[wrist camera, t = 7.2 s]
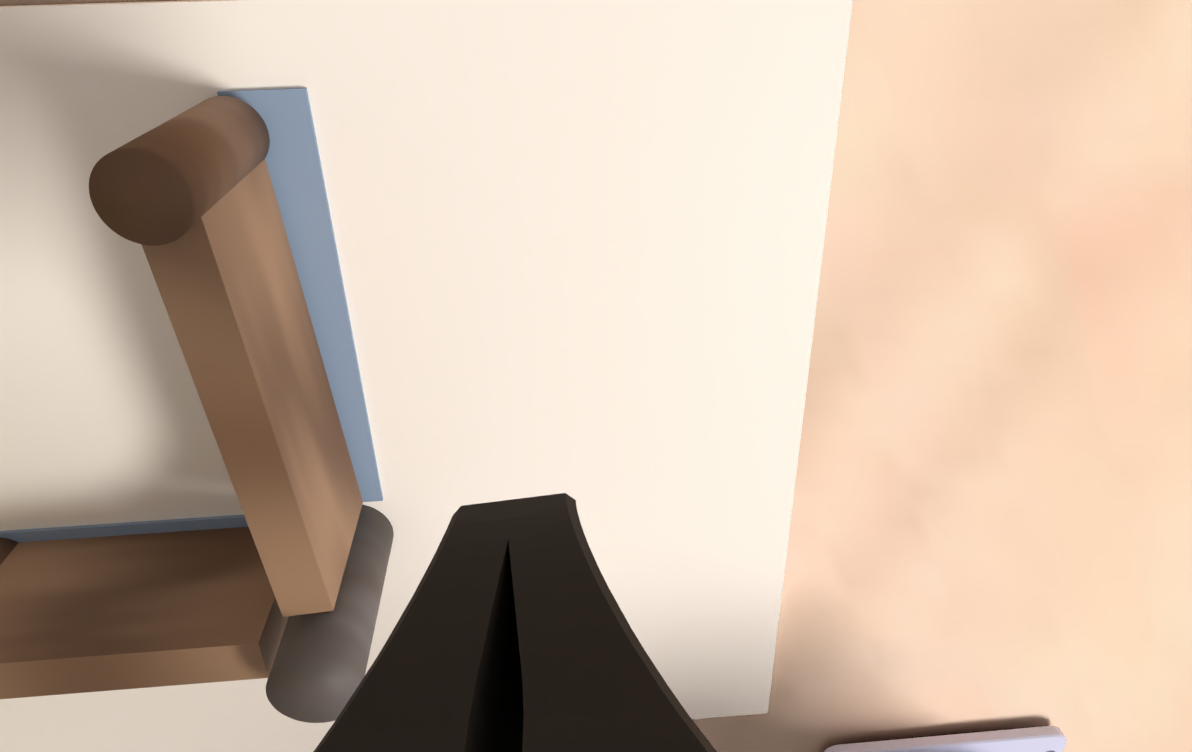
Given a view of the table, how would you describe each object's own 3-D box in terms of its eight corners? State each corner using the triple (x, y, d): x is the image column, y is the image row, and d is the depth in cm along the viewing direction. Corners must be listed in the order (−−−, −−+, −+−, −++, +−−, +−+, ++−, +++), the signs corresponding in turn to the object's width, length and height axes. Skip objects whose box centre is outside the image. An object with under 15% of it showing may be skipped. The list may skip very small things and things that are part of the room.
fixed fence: (388, 501, 20) (352, 656, 16) (398, 558, 21) (367, 718, 16) (-38, 530, 19) (-194, 699, 15) (-9, 587, 20) (-148, 761, 16)
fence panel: (371, 500, 19) (338, 628, 16) (312, 507, 19) (265, 637, 16) (257, 92, 15) (175, 143, 11) (179, 100, 15) (72, 154, 11)
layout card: (764, 702, 25) (768, 715, 25) (21, 765, 24) (11, 780, 23) (846, -20, 15) (856, -18, 15) (-405, 17, 14) (-435, 21, 14)
